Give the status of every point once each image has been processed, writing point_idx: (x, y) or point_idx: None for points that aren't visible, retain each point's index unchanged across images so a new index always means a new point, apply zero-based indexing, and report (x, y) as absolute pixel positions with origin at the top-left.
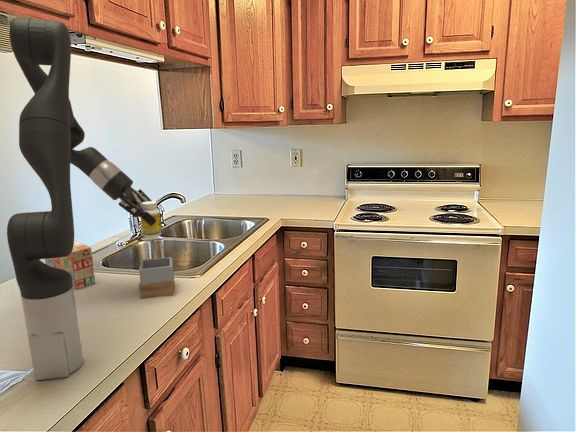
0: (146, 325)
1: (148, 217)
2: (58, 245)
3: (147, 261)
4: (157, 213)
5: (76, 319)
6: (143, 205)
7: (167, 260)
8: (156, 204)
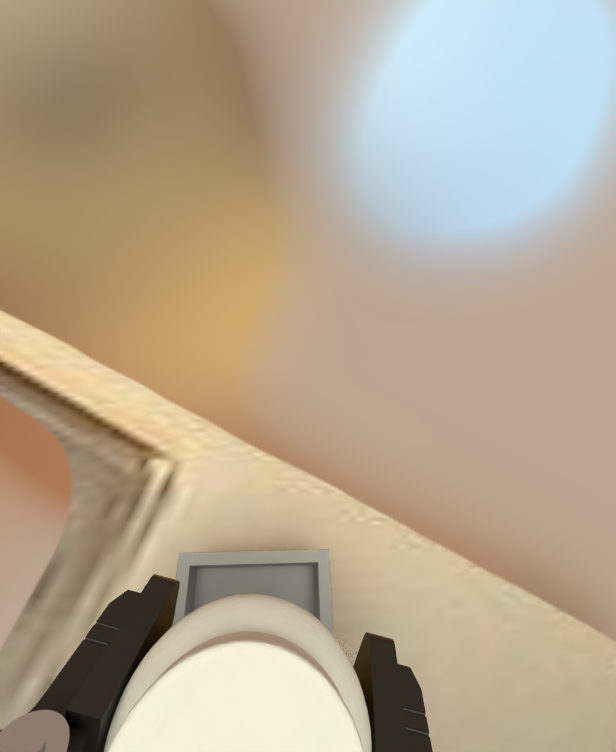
0: (541, 653)
1: (427, 743)
2: None
3: None
4: (318, 622)
5: None
6: None
7: (191, 578)
8: (275, 640)
